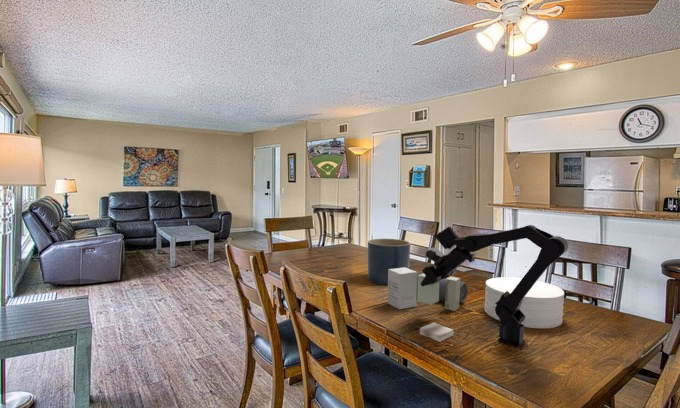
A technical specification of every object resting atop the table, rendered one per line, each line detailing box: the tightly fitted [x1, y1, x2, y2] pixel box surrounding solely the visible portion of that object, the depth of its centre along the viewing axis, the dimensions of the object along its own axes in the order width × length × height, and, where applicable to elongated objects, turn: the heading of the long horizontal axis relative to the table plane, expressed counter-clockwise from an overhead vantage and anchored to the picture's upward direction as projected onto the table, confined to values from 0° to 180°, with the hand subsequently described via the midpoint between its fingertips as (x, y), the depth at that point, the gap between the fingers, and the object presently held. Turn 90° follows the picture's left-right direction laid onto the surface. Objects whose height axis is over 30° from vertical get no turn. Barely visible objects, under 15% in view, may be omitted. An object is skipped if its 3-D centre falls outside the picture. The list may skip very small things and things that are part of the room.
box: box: [444, 276, 461, 312], centre depth 153 cm, size 5×4×13 cm
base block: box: [419, 322, 454, 343], centre depth 127 cm, size 8×8×2 cm
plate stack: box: [484, 276, 565, 329], centre depth 148 cm, size 28×28×12 cm
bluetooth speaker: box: [417, 273, 469, 303], centre depth 166 cm, size 23×9×10 cm, turn 50°
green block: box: [416, 272, 440, 306], centre depth 141 cm, size 6×6×10 cm
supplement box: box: [387, 267, 418, 310], centre depth 156 cm, size 9×9×15 cm
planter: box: [367, 238, 411, 286], centre depth 195 cm, size 22×22×20 cm
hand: (425, 283), depth 142 cm, fingers closed on green block, 6 cm apart
